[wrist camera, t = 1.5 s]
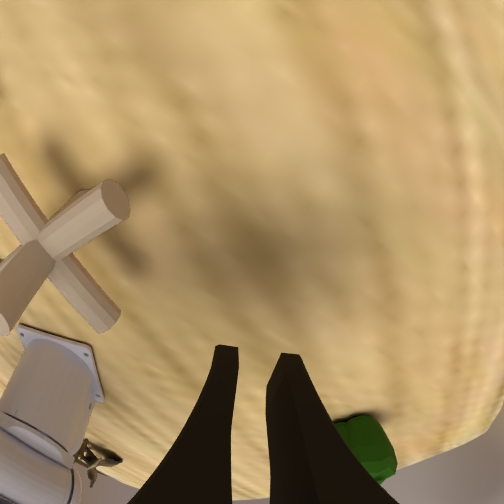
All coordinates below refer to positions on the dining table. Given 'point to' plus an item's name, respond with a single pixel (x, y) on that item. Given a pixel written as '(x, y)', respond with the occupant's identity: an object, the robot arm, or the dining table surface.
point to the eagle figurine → (93, 461)
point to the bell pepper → (369, 446)
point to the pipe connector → (56, 249)
